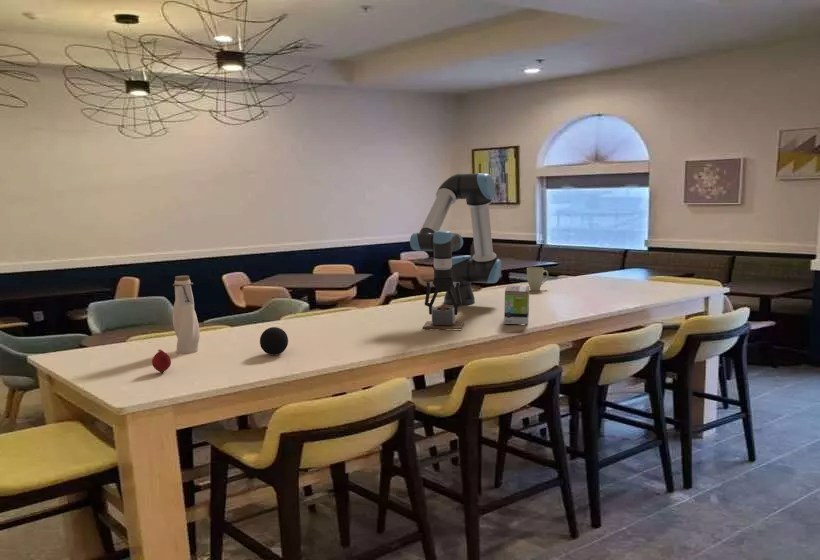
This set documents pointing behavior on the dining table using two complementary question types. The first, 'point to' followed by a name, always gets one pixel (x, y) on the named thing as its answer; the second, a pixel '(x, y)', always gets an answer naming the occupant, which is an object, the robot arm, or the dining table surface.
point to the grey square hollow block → (442, 316)
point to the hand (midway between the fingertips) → (443, 322)
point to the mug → (535, 277)
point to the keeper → (429, 325)
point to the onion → (161, 361)
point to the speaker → (273, 341)
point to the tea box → (516, 305)
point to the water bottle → (185, 316)
